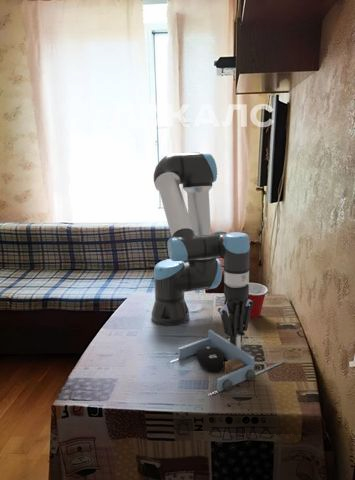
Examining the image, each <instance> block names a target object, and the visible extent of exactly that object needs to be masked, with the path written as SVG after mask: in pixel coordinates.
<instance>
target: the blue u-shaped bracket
mask: <svg viewBox="0 0 355 480" xmlns="http://www.w3.org/2000/svg"><path fill="white" fill-rule="evenodd" d="M207 332H208V334H207V335H208V336H207V337H205V338H203V339H200V340H197V341H194V342H191V343H188V344H186V345H183V346H179V347H178V349H177V350H178V358H180V360H182V358H183V359H185V357H186V358H188V357H191V356H193V354H194V355H195V353H196V354H197V351H198V350H199V349H204V348H206V347H209V348H211V347H215V348H218V349H219V350H220V351H221V352H222V355H223V359H225V360H227V361H229V360H231V359H234V358H236V359H238V360H239V361H241V362H242V363H244V367H243V368H241V369H238V370H236V371H234V372H231V373H229V374H227V375H226V374H225V375H222V376H219V377H218V378H217V379H216V390H218V391H219V392H218V393H220V392H222V390H223V391H224V389H225V391H227V392H229V391H230V390H231V389H232V388H233V387H234V386H235V384H236V385H238V384H240V383H243V382H244V380H245V381H247V380H248V381H252V380H254V379H255V377H256V376H255V373H256V372H255V356H253V355H251V354H250V353H248V352H247V351H245V350H243V349H242V348H241V349H240V348H239V347H237V346H235V345H234V344H232V343H231V342H230V341H228V340H229V339H226V338H224V337H223V336H221V335H220V334H218V332H217V333H216V332H215V331H214V330H212V329H208V331H207ZM190 355H191V356H190ZM187 356H188V357H187ZM246 379H247V380H246ZM237 383H238V384H237ZM233 385H234V386H233Z"/></svg>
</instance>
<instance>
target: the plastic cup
mask: <svg viewBox="0 0 355 480" xmlns="http://www.w3.org/2000/svg"><path fill="white" fill-rule="evenodd" d="M248 285H249V295H248V299H249V300H251V301H253V302H254V304H253V306H252V308H251V313H250V318H249V319H258V318H260V316H261V314H262V309H263V305H264V300H265V296H266V294H267V292H268V291H269V290H268V287H267V286H265V285H263V284H261V283H256V282H249V283H248Z"/></svg>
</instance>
